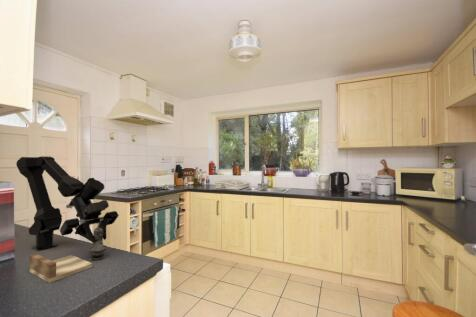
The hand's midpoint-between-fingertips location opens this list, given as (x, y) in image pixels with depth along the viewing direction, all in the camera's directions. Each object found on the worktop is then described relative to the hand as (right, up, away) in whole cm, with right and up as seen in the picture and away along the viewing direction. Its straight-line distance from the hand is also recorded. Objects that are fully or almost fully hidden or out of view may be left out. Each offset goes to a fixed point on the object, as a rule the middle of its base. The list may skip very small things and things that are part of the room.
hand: (100, 240), depth 84 cm
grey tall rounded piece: (-1, -7, +1) cm, 7 cm away
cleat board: (-8, -6, -8) cm, 13 cm away
